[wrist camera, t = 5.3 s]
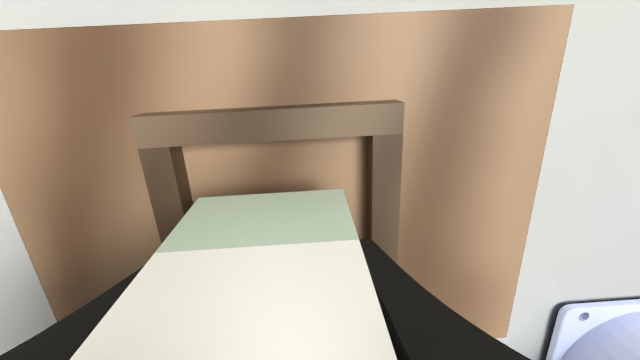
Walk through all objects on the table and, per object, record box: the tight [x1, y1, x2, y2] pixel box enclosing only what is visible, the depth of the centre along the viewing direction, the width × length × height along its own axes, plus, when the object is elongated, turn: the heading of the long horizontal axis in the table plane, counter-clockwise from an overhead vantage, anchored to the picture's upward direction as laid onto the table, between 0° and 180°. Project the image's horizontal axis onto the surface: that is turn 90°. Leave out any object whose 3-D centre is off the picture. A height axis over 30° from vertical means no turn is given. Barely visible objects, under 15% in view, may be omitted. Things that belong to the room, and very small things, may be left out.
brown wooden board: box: [0, 4, 574, 338], centre depth 12 cm, size 20×14×2 cm
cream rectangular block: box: [70, 189, 397, 360], centre depth 8 cm, size 4×4×6 cm
